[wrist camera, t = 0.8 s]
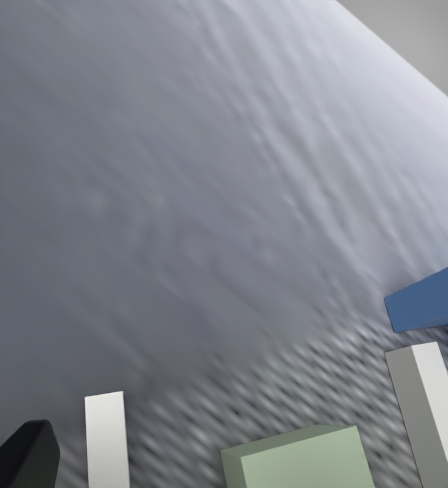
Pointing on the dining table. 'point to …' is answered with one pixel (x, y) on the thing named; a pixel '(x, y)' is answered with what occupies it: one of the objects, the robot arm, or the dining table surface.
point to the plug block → (300, 460)
